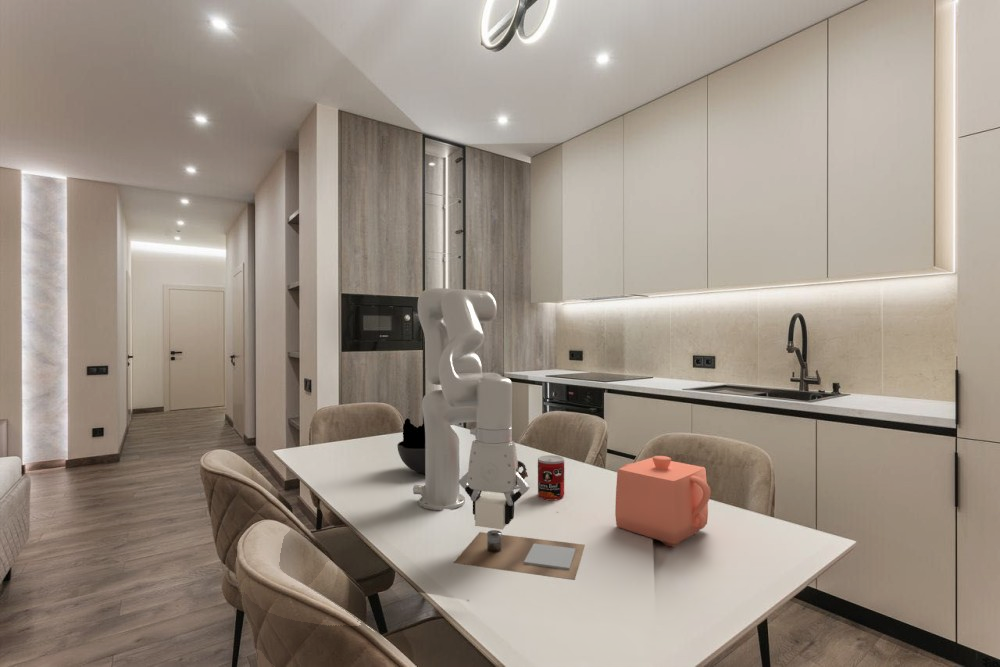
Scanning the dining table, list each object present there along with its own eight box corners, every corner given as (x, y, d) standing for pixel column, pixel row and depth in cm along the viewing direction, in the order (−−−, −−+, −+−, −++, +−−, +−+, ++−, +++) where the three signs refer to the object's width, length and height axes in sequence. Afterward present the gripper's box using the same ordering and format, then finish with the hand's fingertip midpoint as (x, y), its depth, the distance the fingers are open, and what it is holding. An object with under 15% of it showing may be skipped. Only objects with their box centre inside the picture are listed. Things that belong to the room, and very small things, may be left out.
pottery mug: (531, 481, 159) (533, 462, 155) (519, 501, 151) (520, 482, 147) (499, 468, 163) (499, 449, 159) (485, 487, 156) (485, 468, 152)
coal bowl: (463, 466, 175) (463, 414, 175) (444, 482, 156) (444, 423, 156) (411, 463, 180) (411, 412, 180) (387, 478, 160) (387, 421, 160)
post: (485, 551, 101) (485, 534, 101) (489, 545, 104) (489, 529, 104) (499, 553, 100) (499, 536, 100) (503, 547, 103) (503, 531, 103)
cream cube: (475, 525, 101) (475, 501, 101) (484, 515, 106) (484, 492, 106) (502, 529, 99) (503, 505, 99) (510, 518, 105) (510, 495, 105)
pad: (523, 563, 96) (523, 561, 96) (533, 545, 104) (533, 543, 104) (569, 570, 93) (569, 567, 93) (575, 550, 102) (575, 548, 102)
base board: (453, 570, 96) (453, 562, 96) (479, 538, 111) (479, 532, 111) (574, 587, 89) (574, 579, 89) (585, 551, 104) (585, 544, 104)
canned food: (534, 498, 140) (534, 460, 140) (542, 490, 147) (542, 454, 147) (560, 501, 137) (560, 462, 137) (567, 493, 144) (567, 456, 144)
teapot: (651, 505, 134) (651, 440, 135) (737, 527, 118) (736, 453, 118) (600, 529, 117) (600, 455, 117) (692, 559, 101) (691, 473, 101)
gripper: (449, 436, 101) (448, 521, 102) (529, 442, 96) (528, 532, 97) (462, 429, 109) (461, 509, 109) (537, 434, 104) (536, 518, 104)
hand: (493, 519), depth 103 cm, fingers closed on cream cube, 6 cm apart
